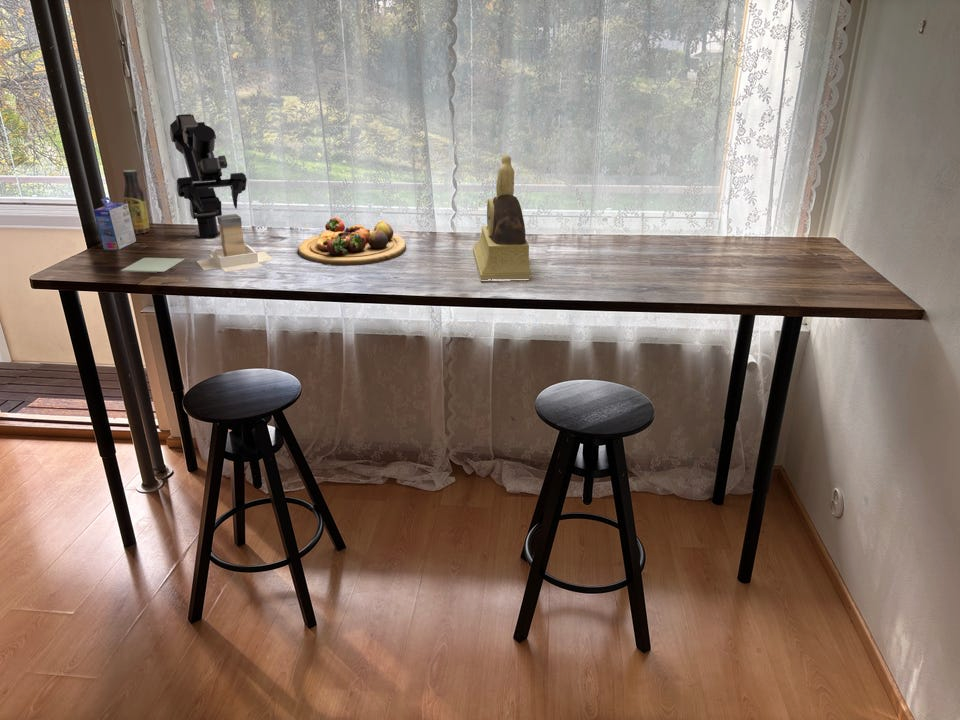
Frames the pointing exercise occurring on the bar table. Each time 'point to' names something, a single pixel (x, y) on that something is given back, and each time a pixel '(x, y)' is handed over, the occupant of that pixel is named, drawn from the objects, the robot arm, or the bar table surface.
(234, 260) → the carton
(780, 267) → the bar table surface
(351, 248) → the wooden plate with food
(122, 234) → the ink cartridge box
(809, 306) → the bar table surface
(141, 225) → the sauce bottle
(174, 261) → the rubber pad
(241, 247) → the box
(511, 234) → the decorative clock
